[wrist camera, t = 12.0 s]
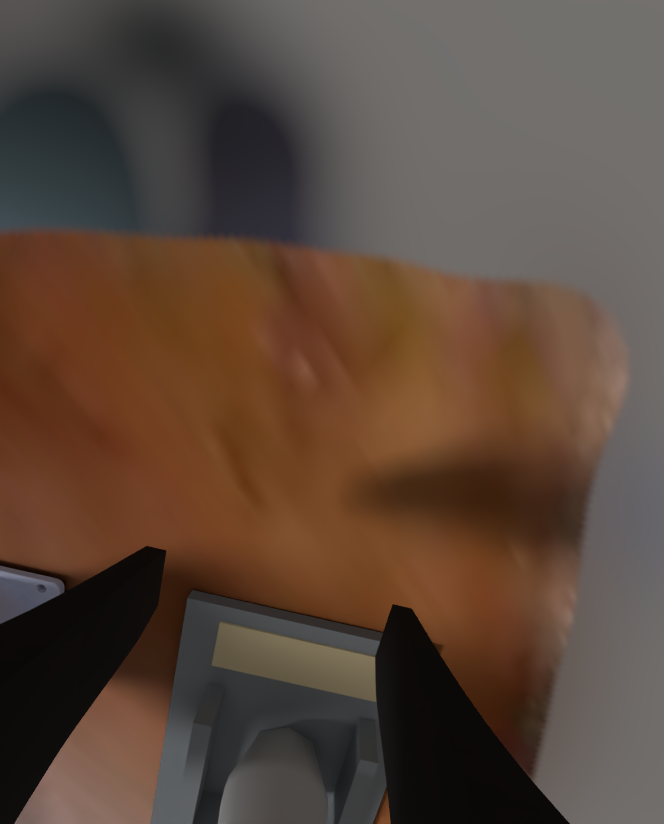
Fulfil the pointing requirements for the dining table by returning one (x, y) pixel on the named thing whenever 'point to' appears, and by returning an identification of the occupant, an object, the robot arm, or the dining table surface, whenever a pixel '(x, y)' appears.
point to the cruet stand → (269, 706)
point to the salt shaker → (276, 783)
